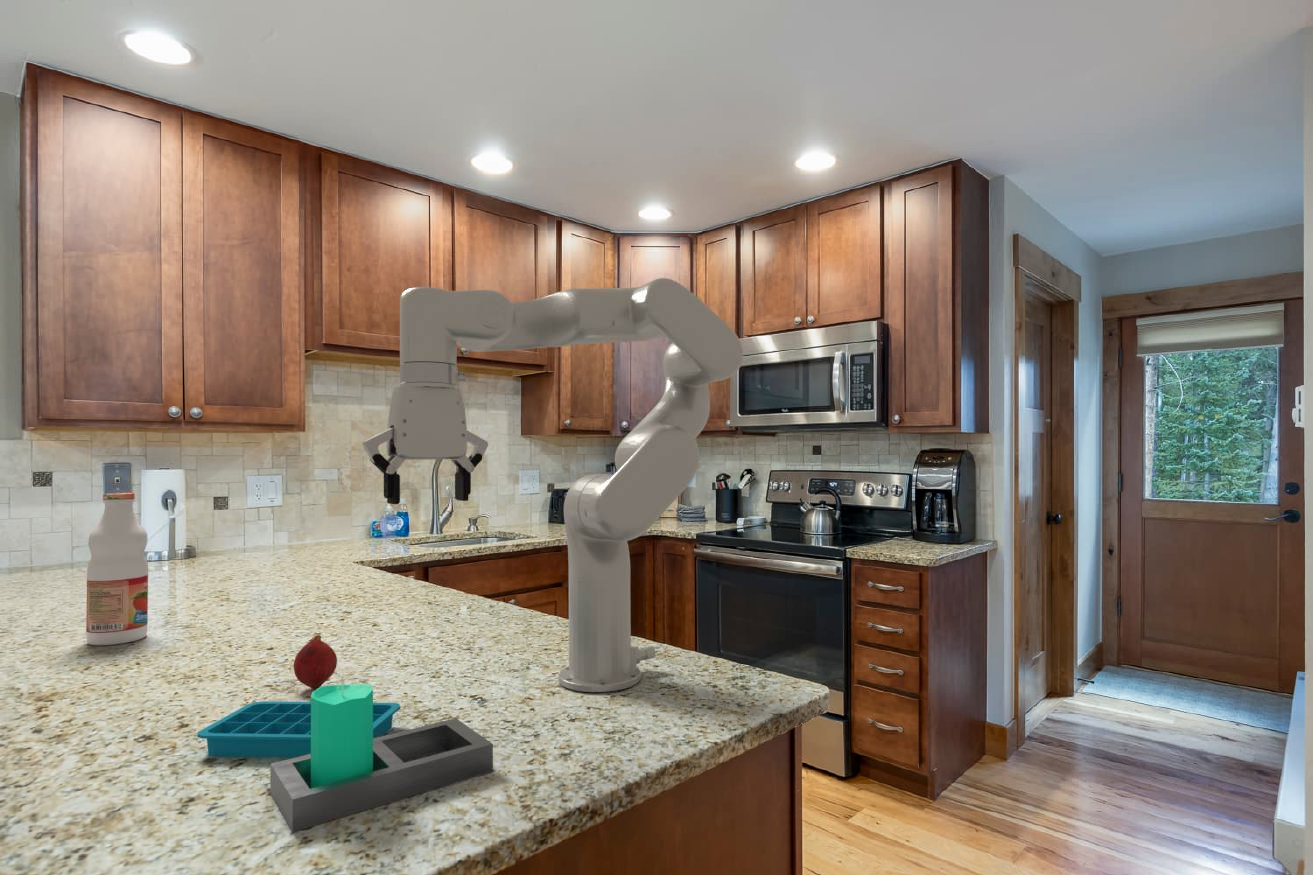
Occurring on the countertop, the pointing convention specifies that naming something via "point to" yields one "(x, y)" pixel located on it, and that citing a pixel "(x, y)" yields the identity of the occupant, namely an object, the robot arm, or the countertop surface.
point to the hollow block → (383, 773)
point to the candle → (341, 733)
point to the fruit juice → (117, 575)
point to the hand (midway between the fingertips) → (428, 501)
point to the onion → (315, 663)
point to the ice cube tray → (276, 729)
